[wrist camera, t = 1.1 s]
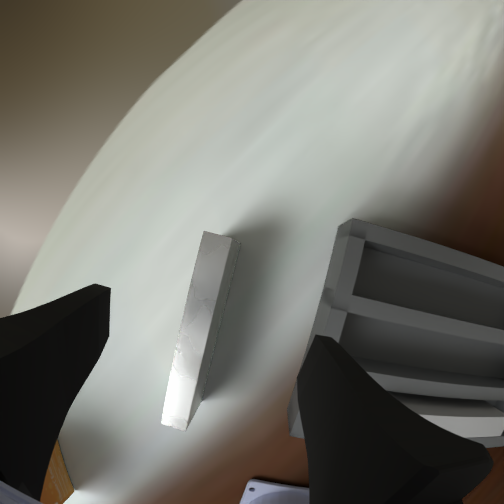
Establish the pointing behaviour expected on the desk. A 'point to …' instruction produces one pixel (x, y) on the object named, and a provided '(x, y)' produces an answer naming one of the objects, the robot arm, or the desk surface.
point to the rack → (418, 327)
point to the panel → (199, 328)
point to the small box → (56, 480)
